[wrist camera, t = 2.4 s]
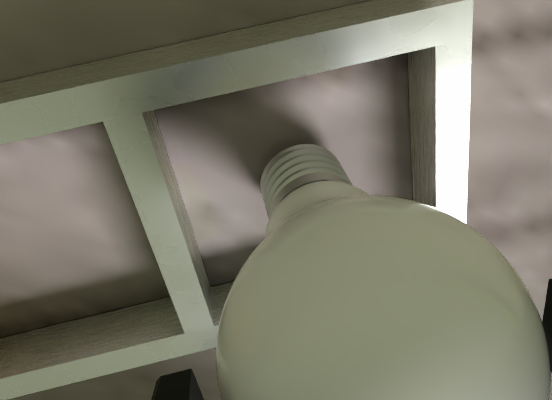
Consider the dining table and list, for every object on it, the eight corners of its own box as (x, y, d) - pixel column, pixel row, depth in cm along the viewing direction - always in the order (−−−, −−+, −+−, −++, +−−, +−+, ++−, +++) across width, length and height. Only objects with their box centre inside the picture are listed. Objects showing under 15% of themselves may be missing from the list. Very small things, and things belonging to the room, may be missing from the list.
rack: (440, 252, 20) (466, 289, 18) (-285, 429, 19) (-336, 489, 17) (439, -15, 15) (477, 0, 13) (-569, 208, 13) (-688, 259, 12)
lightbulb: (173, 223, 17) (168, 611, 8) (246, 46, 15) (363, 320, 5) (336, 267, 19) (480, 614, 10) (425, 119, 17) (728, 405, 8)
